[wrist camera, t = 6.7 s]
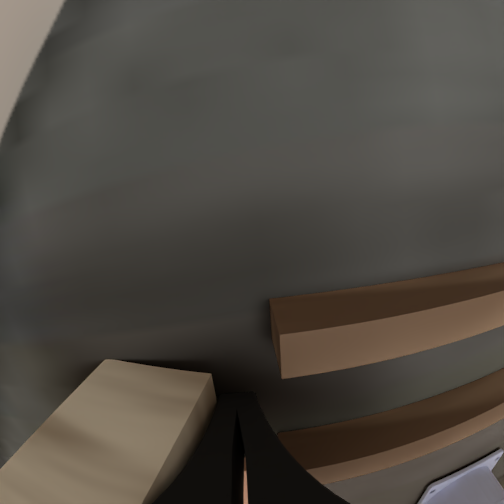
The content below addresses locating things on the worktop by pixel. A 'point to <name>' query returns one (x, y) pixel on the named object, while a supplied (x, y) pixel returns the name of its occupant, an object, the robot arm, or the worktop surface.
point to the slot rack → (384, 348)
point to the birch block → (113, 438)
